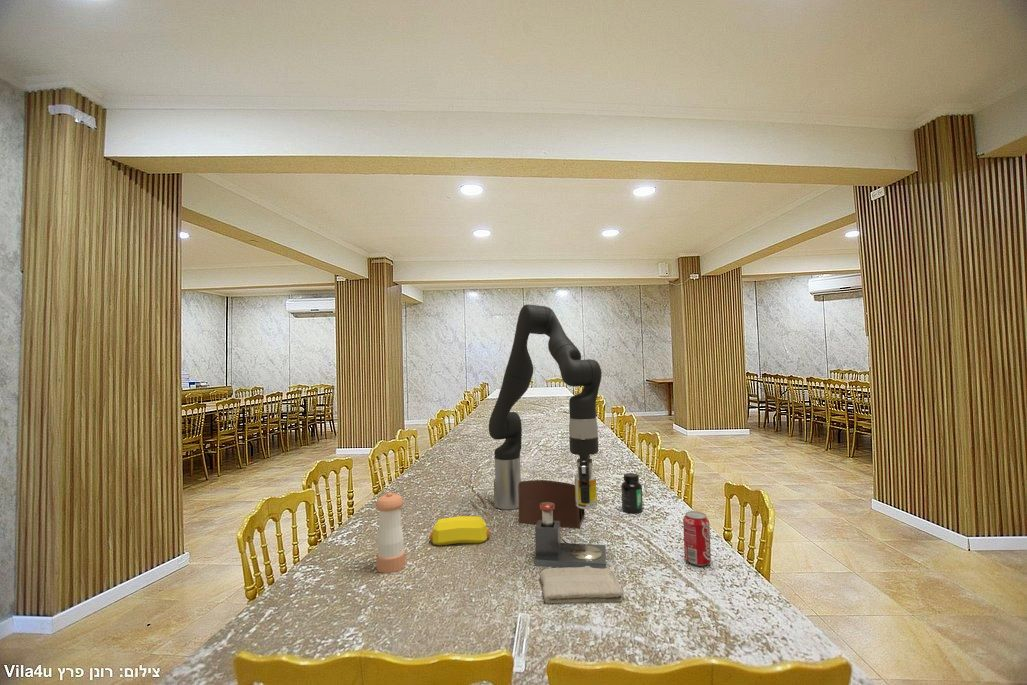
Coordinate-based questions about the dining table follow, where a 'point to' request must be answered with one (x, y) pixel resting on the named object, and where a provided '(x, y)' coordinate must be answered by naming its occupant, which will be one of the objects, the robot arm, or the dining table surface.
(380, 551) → the pepper shaker
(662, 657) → the dining table surface
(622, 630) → the dining table surface
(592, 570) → the washcloth
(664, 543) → the dining table surface
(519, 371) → the robot arm
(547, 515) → the pin
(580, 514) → the letter holder
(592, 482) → the supplement bottle
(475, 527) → the yellow sponge block
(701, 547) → the beverage can
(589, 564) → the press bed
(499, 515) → the dining table surface
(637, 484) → the supplement bottle
